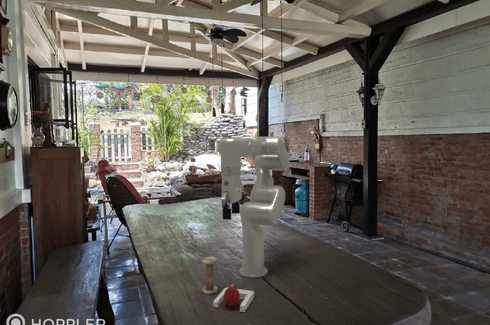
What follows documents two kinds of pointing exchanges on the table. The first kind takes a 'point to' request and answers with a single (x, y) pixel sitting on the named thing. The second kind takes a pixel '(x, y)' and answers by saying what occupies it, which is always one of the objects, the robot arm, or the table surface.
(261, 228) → the robot arm
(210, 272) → the spool
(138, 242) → the table surface
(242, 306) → the notched board
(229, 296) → the pomegranate
